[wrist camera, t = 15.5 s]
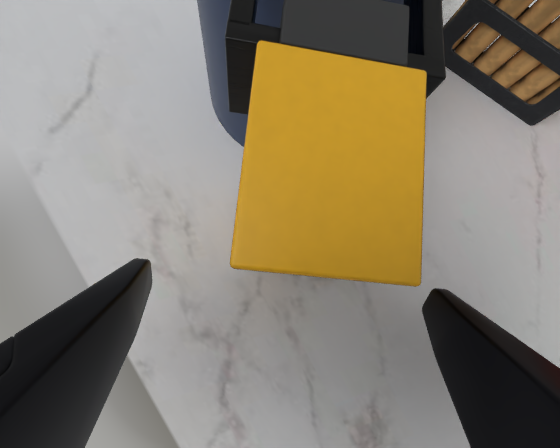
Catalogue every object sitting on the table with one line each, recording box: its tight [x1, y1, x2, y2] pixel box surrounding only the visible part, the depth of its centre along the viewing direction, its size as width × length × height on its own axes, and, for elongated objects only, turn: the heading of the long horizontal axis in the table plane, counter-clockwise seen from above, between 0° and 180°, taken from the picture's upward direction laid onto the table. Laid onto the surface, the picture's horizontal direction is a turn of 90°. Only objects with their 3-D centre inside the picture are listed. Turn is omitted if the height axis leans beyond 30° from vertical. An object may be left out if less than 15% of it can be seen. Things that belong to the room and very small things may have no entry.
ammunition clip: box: [443, 0, 560, 125], centre depth 19 cm, size 11×2×12 cm, turn 54°
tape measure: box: [230, 0, 427, 287], centre depth 12 cm, size 7×4×12 cm, turn 175°
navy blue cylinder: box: [197, 0, 446, 146], centre depth 15 cm, size 14×11×14 cm
